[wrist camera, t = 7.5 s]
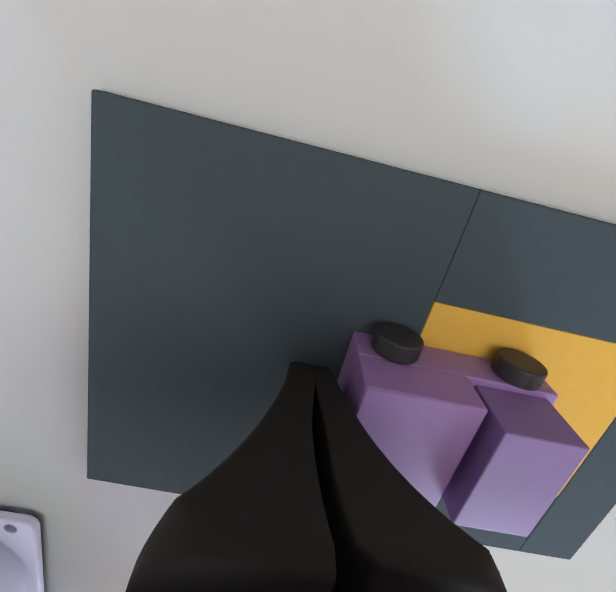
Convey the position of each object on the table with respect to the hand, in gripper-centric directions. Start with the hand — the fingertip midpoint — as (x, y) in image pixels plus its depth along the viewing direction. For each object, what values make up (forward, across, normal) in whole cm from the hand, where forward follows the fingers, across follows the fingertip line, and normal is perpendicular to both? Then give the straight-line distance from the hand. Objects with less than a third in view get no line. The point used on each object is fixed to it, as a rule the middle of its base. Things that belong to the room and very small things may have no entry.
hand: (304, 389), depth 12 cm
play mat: (+1, -3, 0) cm, 4 cm away
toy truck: (+1, -4, 0) cm, 5 cm away
